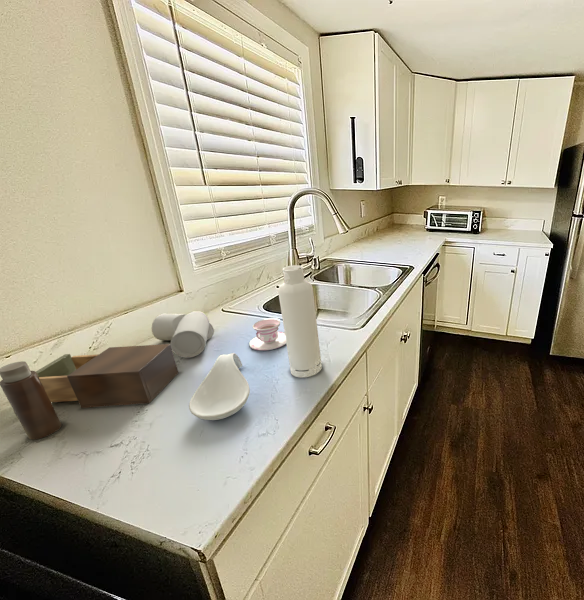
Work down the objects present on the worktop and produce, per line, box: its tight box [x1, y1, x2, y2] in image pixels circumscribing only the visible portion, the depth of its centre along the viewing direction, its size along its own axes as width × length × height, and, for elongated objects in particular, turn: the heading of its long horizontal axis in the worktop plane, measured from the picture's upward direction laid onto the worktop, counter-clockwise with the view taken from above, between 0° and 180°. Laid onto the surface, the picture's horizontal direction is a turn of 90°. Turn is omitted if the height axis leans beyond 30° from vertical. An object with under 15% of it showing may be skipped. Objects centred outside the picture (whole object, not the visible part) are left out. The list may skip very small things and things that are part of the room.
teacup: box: [248, 317, 286, 352], centre depth 101 cm, size 12×12×6 cm
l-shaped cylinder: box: [151, 310, 215, 358], centre depth 99 cm, size 18×10×20 cm
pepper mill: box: [0, 360, 63, 440], centre depth 64 cm, size 5×5×16 cm
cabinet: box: [67, 343, 180, 409], centre depth 78 cm, size 15×13×9 cm
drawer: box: [35, 353, 100, 403], centre depth 77 cm, size 18×11×7 cm, turn 96°
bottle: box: [277, 264, 323, 378], centre depth 82 cm, size 8×8×28 cm
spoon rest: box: [188, 352, 251, 421], centre depth 76 cm, size 24×12×7 cm, turn 20°
